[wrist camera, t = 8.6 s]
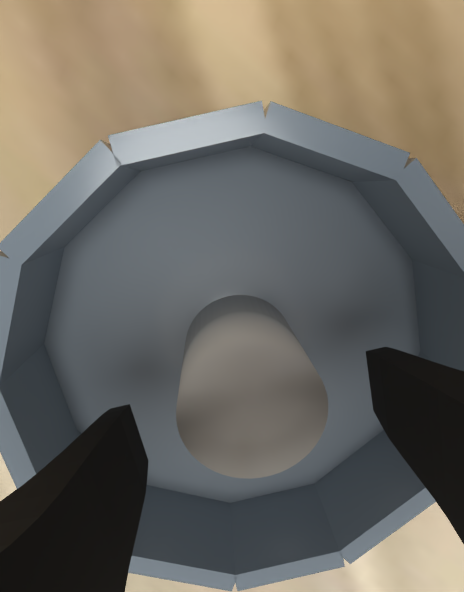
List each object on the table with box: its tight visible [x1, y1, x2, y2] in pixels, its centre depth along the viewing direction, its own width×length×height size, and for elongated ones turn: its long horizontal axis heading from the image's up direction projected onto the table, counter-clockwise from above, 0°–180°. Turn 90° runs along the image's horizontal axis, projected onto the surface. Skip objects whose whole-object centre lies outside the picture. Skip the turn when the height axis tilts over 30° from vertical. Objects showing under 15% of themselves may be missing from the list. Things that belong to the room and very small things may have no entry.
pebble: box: [176, 295, 328, 479], centre depth 14 cm, size 4×4×5 cm
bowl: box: [0, 101, 464, 591], centre depth 15 cm, size 17×17×4 cm
